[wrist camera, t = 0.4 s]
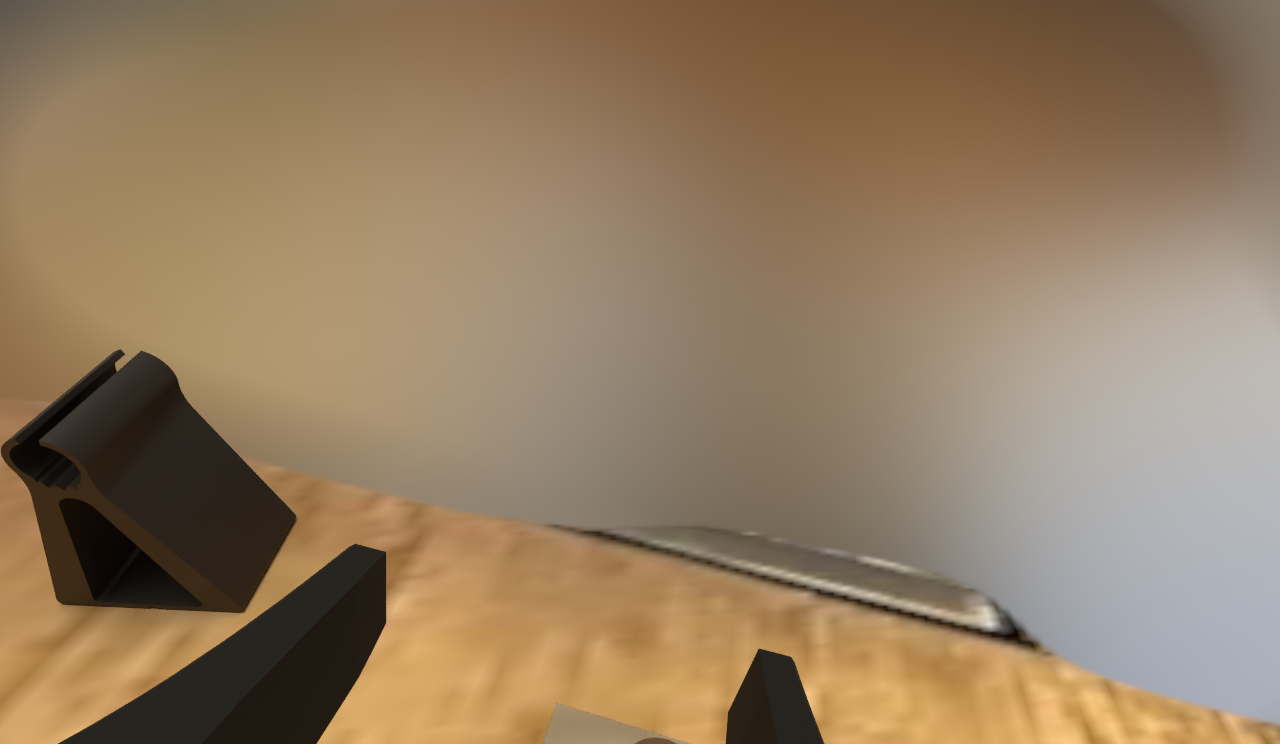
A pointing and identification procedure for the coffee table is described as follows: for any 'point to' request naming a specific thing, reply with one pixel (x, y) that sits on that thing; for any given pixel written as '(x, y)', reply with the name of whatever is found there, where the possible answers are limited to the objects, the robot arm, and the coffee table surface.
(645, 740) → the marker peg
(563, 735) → the cream ridged tray
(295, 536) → the coffee table surface
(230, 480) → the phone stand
